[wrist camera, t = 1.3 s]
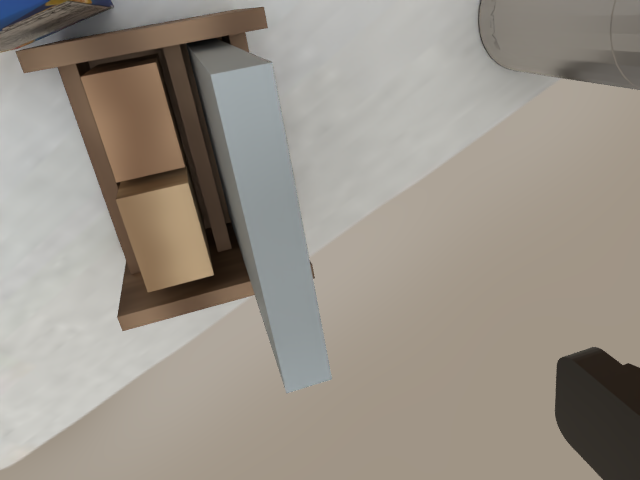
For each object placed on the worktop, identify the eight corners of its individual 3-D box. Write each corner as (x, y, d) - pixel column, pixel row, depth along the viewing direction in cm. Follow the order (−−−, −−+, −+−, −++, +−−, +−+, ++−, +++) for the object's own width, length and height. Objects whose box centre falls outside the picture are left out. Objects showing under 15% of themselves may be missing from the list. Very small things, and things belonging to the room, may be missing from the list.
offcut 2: (182, 144, 39) (188, 182, 30) (203, 219, 41) (213, 275, 32) (127, 156, 38) (115, 199, 29) (151, 232, 41) (147, 292, 32)
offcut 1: (157, 53, 36) (156, 62, 29) (181, 139, 39) (185, 166, 31) (97, 64, 35) (80, 76, 28) (125, 151, 38) (116, 182, 31)
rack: (235, 9, 38) (263, 6, 27) (278, 215, 44) (314, 278, 34) (60, 41, 36) (15, 51, 25) (133, 251, 42) (122, 331, 32)
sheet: (214, 37, 37) (272, 62, 17) (254, 210, 42) (332, 379, 23) (185, 43, 36) (210, 74, 17) (229, 216, 42) (286, 393, 22)
